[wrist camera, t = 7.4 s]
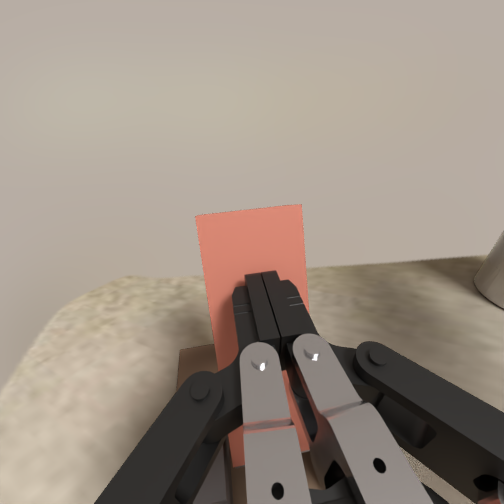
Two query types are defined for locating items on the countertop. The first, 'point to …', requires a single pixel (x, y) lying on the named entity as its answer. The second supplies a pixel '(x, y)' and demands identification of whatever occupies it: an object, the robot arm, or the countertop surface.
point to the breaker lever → (232, 275)
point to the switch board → (210, 364)
